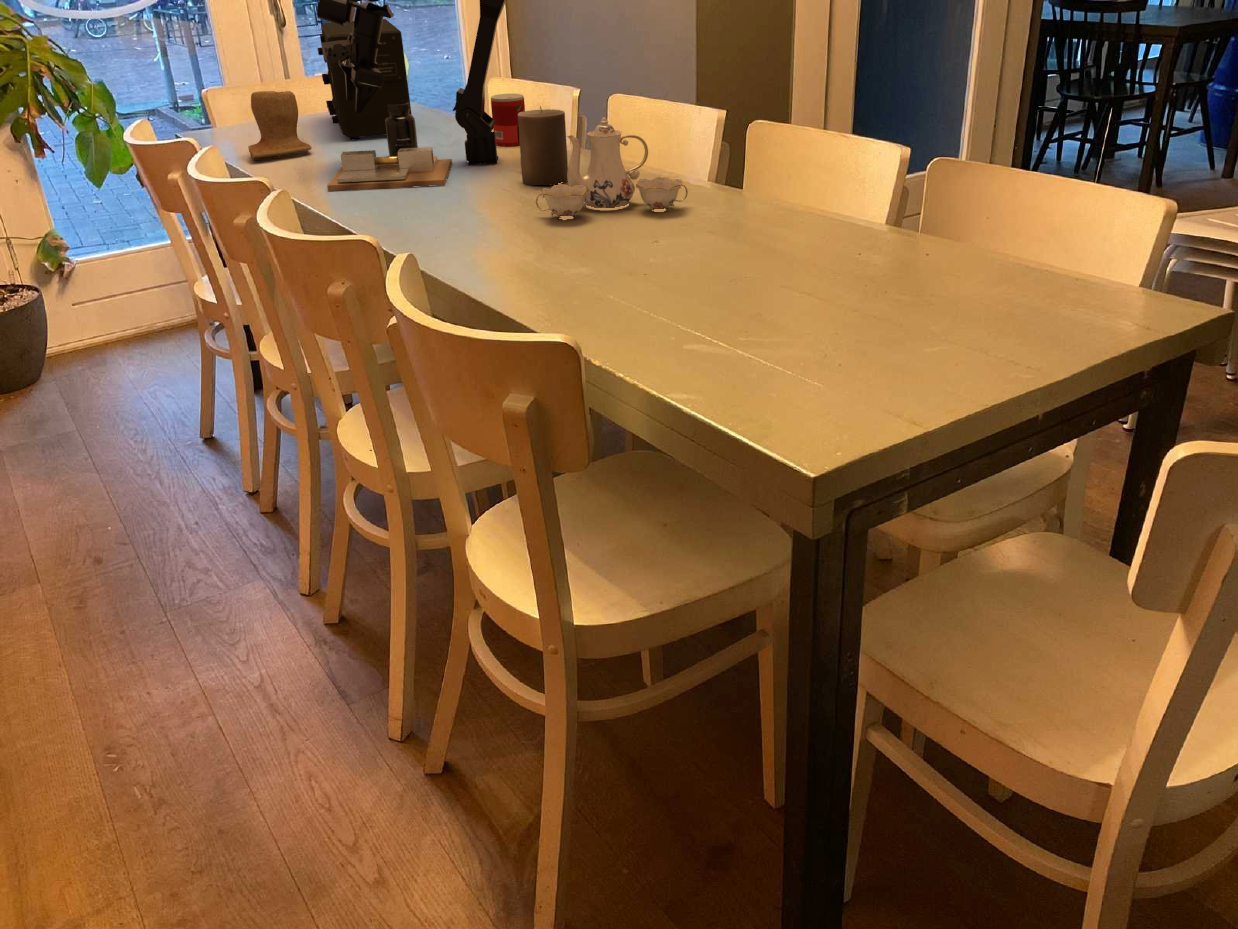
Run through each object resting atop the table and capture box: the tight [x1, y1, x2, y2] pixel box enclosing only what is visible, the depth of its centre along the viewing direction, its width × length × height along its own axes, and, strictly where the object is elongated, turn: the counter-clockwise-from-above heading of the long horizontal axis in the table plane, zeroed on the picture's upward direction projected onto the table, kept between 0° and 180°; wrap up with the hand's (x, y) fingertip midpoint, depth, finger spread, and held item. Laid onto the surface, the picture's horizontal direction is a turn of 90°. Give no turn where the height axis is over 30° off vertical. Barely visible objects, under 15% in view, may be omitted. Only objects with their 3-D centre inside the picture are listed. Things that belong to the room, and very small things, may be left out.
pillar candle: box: [518, 106, 569, 186], centre depth 209 cm, size 10×10×15 cm
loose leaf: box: [337, 149, 409, 182], centre depth 215 cm, size 14×11×4 cm
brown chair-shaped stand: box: [247, 90, 313, 161], centre depth 240 cm, size 15×12×15 cm
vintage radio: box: [317, 18, 413, 141], centre depth 267 cm, size 38×20×25 cm, turn 17°
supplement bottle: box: [385, 102, 419, 157], centre depth 235 cm, size 7×7×12 cm
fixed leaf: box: [378, 146, 439, 173], centre depth 221 cm, size 14×11×4 cm
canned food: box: [490, 93, 526, 147], centre depth 245 cm, size 8×8×11 cm
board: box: [327, 158, 453, 192], centre depth 220 cm, size 24×20×1 cm
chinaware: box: [535, 116, 689, 216], centre depth 187 cm, size 28×17×17 cm, turn 106°
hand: (353, 106), depth 224 cm, fingers open, 9 cm apart
